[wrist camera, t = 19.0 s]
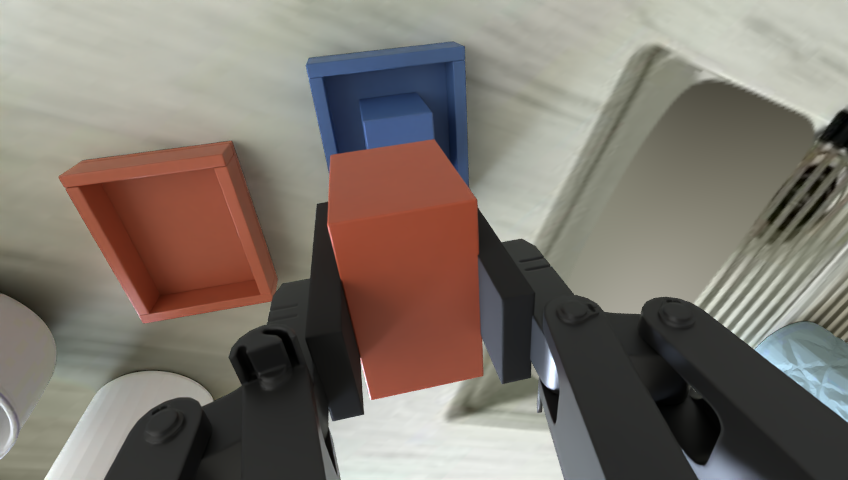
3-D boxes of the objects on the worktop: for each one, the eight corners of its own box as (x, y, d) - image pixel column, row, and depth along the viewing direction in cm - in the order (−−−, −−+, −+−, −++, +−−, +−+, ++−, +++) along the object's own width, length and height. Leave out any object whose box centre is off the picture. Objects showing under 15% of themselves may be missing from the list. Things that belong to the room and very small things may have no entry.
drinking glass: (844, 317, 45) (991, 411, 35) (790, 382, 50) (905, 481, 40) (772, 316, 43) (908, 416, 33) (722, 384, 48) (826, 490, 38)
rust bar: (329, 154, 14) (326, 224, 9) (434, 138, 14) (477, 199, 10) (361, 298, 17) (370, 400, 12) (447, 282, 17) (484, 376, 13)
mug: (100, 359, 31) (19, 484, 23) (228, 379, 34) (196, 494, 26) (85, 457, 36) (14, 588, 28) (199, 466, 39) (164, 587, 31)
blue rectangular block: (358, 98, 24) (362, 120, 20) (416, 91, 25) (433, 111, 21) (373, 191, 28) (379, 227, 23) (424, 184, 28) (440, 218, 24)
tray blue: (308, 57, 23) (305, 64, 21) (454, 41, 24) (464, 45, 22) (342, 219, 29) (342, 237, 27) (460, 201, 30) (470, 217, 28)
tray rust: (81, 160, 24) (56, 176, 22) (232, 140, 25) (222, 154, 23) (157, 300, 29) (142, 324, 27) (278, 279, 30) (273, 301, 28)
